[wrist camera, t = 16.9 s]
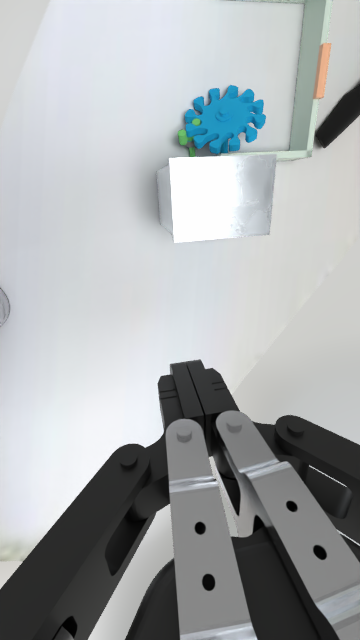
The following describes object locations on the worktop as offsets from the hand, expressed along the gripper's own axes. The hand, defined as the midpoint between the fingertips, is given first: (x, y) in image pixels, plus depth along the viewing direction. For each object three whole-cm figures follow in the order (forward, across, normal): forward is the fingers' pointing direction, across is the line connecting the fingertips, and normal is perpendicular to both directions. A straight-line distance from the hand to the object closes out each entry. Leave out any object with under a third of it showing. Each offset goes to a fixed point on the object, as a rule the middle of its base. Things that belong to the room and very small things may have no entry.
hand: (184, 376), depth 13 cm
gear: (+33, -11, -16) cm, 38 cm away
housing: (+33, -8, -7) cm, 35 cm away
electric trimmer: (+34, -33, -18) cm, 50 cm away
